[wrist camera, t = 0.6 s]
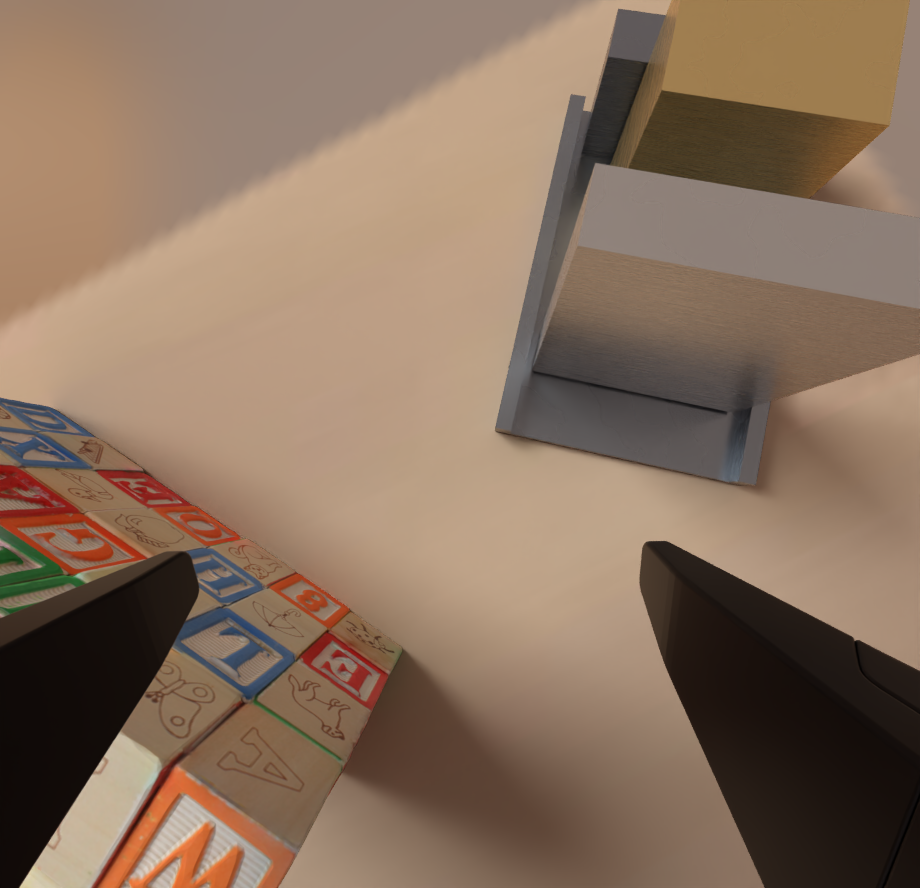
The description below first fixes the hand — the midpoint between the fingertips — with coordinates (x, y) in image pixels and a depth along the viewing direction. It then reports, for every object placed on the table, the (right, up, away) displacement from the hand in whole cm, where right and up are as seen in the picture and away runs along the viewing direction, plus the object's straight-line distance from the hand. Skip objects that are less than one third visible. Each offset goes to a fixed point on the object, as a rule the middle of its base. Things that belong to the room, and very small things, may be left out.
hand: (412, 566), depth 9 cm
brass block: (+11, +13, +13) cm, 21 cm away
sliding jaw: (+9, +6, +12) cm, 16 cm away
